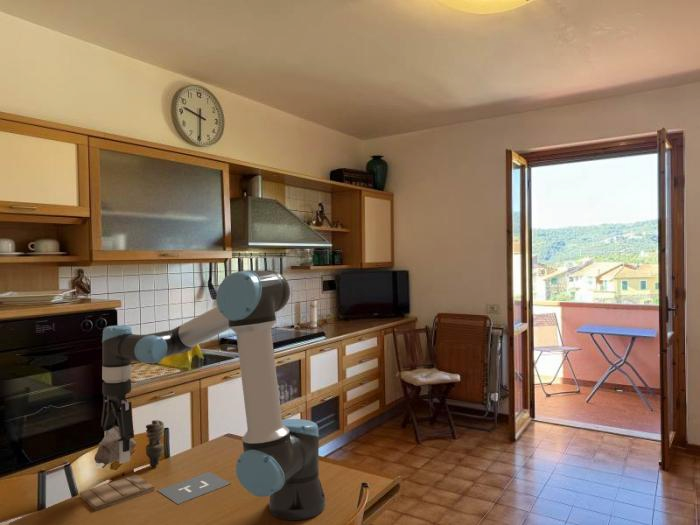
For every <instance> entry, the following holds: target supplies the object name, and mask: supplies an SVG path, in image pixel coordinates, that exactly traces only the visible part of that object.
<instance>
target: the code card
mask: <svg viewBox="0 0 700 525" xmlns="http://www.w3.org/2000/svg"><path fill="white" fill-rule="evenodd" d="M230 485H232V483H230V482H229V481H227V480H225V479H223V478H222V477H219V476H218V475H216V474H214V473H213V472H210V471H208V472H206V473H205V472H204V473H203V474H200V475H196V476H193V477H192V478H188V479H186V480H183V481H180V482H178V483H175V484H172V485H169V486H166V487H163V488H160V489H159V490H158V489H157V492H158V493H159V494H161V495H162V496H164V497H166V498H168V499H169V500H170V501H172V502H173V503H175V505H180V504H184V503H186V502H189V501H191V500H193V499H195V498H198V497H201V496H204V495H206V494H209V493H212V492H213V491H216V490H219V489H222V488H224V487H226V486H230Z"/></svg>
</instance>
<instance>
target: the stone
mask: <svg viewBox="0 0 700 525" xmlns="http://www.w3.org/2000/svg"><path fill="white" fill-rule="evenodd" d="M119 439H121V437H120V432H119V427H118V426H117V425H115V427H113V428H112V429H110V430H109V431H108V432H107V434H106V436H105V435H104V437H103V438H102V440H101V441H100V442H99V443H98V449H97V451H96V453H95V455H94V461H95V464H103V465H106V466H107V465H109V464H113V463H114V462H119V441H118V440H119ZM136 446H137V442H136V441H135V440H134V438H131V439H130V452H132V451H133V450H134V449H135V447H136Z"/></svg>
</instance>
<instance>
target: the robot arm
mask: <svg viewBox="0 0 700 525" xmlns="http://www.w3.org/2000/svg"><path fill="white" fill-rule="evenodd" d="M290 295H291V288H290V284H289V282H288V280H287V279H286V278H285V276H284V275H282V274H281V273H279V272H278V271H275V270H270V269H269V270H268V269H264V270H251V269H250V270H240V271H235V272H232V273H230V274H228V275H227V276H225V277H224V278H223V280H222V281H221V283H220V284H219V286H218V289H217V292H216V306H215V307H213V308H211V309H209V310H208V311H205V312H204V313H202V314H200V315H198V316H196V317H194V318H192V319H190V320H188V321H186V322H184V323H182V324H181V325H178V326H176V327H175V328H172V329H169V330H165V331H158V332H154V333H153V332H152V333H148V334H134V333H133V331H132V327H131V326H130V325H126V324H124V325H123V324H119V325H109V326H105V327H104V328H103V330H102V340H101V343H102V345H101V346H102V352H101V353H102V367H101V369H102V370H101V371H102V372H101V374H102V375H101V377H102V378H101V379H102V380H103V382H102V385H101V387H102V390H101V392H102V398H103V401H102V402H103V403H102V404H103V405H102V414H101V421H100V422H101V423H100V426H101V428H102V427H103V431H104V437H105V436H106V434H107V432H108V431H109V430H110V429H112V428H113V427H115V426H116V424H115V423H116V421H117V425H118V426H117V427H118V428H119V432H120V437H121V439H119V440H118V441H119V460H118V462H119V465H122V464H126V463H129V462H131V451H130V439H131V438H132V439H134V438H135V432H134V431H135V430H134V422H133V414H132V402H131V401H128V400H127V397H126V396H127V395H128V394H130V393H131V392H132V380H131V377H132V370H133V366H132V362H135V363H137V362H138V363H143V364H157V363H160V362H161V361H162V360H164V359H165V358H166V357H167V358H168V357H170V356H174V355H175V356H176V355H179V354H185V353H187V352H189V351H192V350H193V349H194V348H195V346H197V345H199V344H202V343H204V342H206V341H208V340H210V339H212V338H214V337H216V336H218V335H220V334H222V333H225V332H227V331H228V330H231V331H232V332H234V333H235V335H236V342H237V343H236V344H237V351H238V359H239V368H240V369H239V370H240V377H241V385H242V392H243V393H242V394H243V395H242V396H243V402H244V409H245V411H244V412H245V419H246V428H247V430H246V432H245V433H244V434H243V437H242V439H241V440H242V449H243V452H242V453H241V454H240V456H239V457H238V459H237V460H236V464H235V471H236V472H235V473H236V477H237V479H238V481H239V483H240V485H241V486H242V487H243V488H244V489H245V490H246V491H247V492H248V493H249V494H251V495H253V496H256V497H262V498H263V497H264V498H265V497H269V500H268V502H269V503H268V504H269V506H268V509H269V512H270V513H271V514H272V515H273V516H274V517H277V518H279V519H282V520H287V521H301V520H307V519H310V518H313V517H316V516H318V515H319V514H321V513H322V512H323V511H324V509H325V507H326V496H325V493H324V489H323V486H322V483H321V480H320V476H319V475H320V474H319V466H320V465H319V460H320V459H319V458H320V455H319V449H320V447H319V438H320V435H319V427H318V426H319V425H318V424H317V423H316V422H314V421H311V420H308V419H301V418H289V419H283V418H282V410H281V409H282V408H281V402H280V392H279V385H278V377H277V376H278V374H277V367H276V361H275V360H276V359H275V352H274V351H275V350H274V343H273V335H272V328H273V326H274V325H275V324H276V322H277V317H276V316H277V315H276V313H277V312H280V311H281V310H282V309H283V308H285V307H286V305H287V304H288V302H289V300H290Z"/></svg>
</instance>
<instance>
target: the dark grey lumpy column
mask: <svg viewBox="0 0 700 525" xmlns="http://www.w3.org/2000/svg"><path fill="white" fill-rule="evenodd" d="M145 428H146V431H145V432H146V438H148V439H147V440H148V444H146V446H145V454H146V456H147V458H148V459H149V466H150V467H151V468H155V466H156V467H157V465H160V457H161V456H162V455H163V452H164V443H163V442H161V439H162V438H163V436H164V434H165V433H164V431H165V423H164V422H163V421H162V420H157V419H155V420H152V421H151V424H147V425H146V426H145Z"/></svg>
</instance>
